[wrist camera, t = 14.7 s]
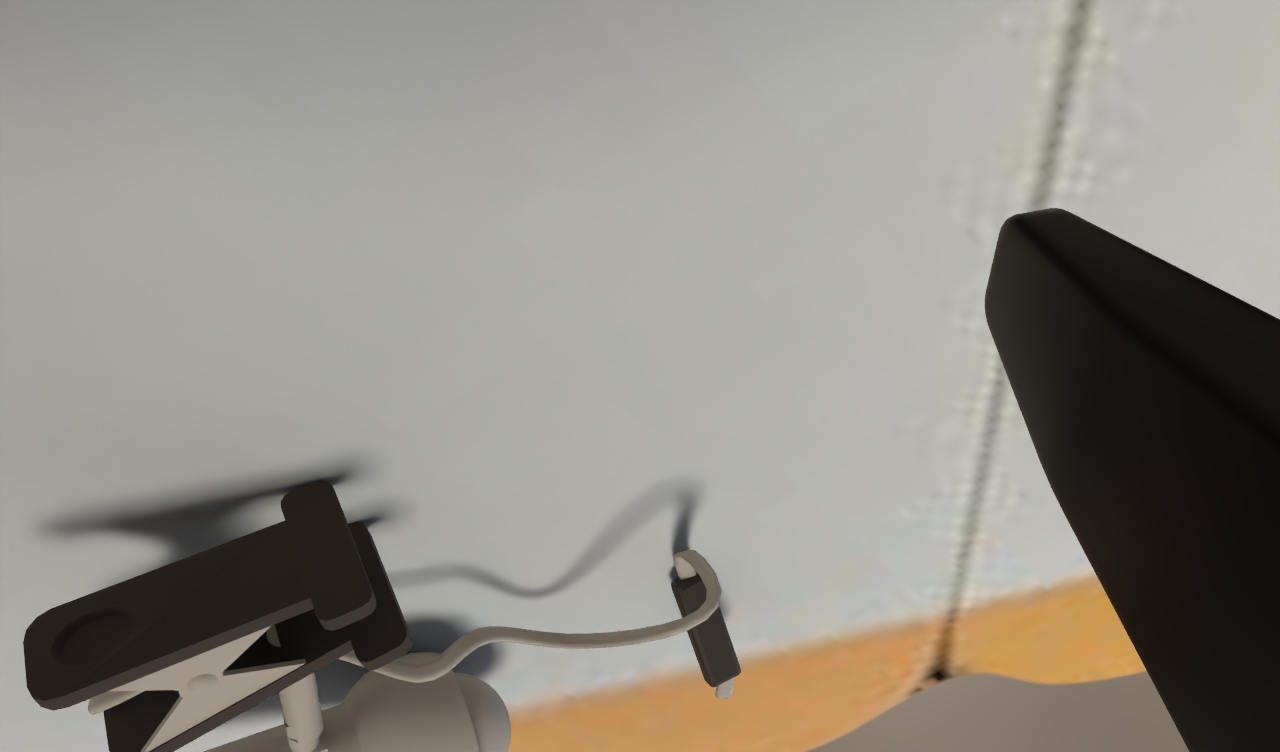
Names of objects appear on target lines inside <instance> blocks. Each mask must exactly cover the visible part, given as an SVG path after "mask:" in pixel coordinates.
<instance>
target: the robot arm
mask: <svg viewBox="0 0 1280 752" xmlns="http://www.w3.org/2000/svg"><path fill="white" fill-rule="evenodd" d="M985 313H986V318H987V323H988V326H989V329H990V331H991V334H992V337H993V339H994V342H995V345H996V347H997V350H998V352H999V355H1000V358H1001V360H1002V363H1003V365H1004V368H1005V371H1006V373H1007V376H1008V378H1009V381H1010V384H1011V386H1012V389H1013V392H1014V394H1015V397H1016V399H1017V402H1018V405H1019V407H1020V410H1021V412H1022V415H1023V418H1024V420H1025V423H1026V425H1027V428H1028V431H1029V433H1030V436H1031V439H1032V441H1033V444H1034V446H1035V449H1036V452H1037V454H1038V457H1039V459H1040V462H1041V464H1042V467H1043V469H1044V471H1045V474H1046V476H1047V479H1048V481H1049V483H1050V486H1051V488H1052V490H1053V492H1054V494H1055V496H1056V498H1057V500H1058V502H1059V504H1060V506H1061V508H1062V510H1063V512H1064V514H1065V516H1066V518H1067V520H1068V522H1069V523H1070V525H1071V527H1072V529H1073V531H1074V533H1075V535H1076V537H1077V539H1078V541H1079V542H1080V544H1081V546H1082V548H1083V550H1084V552H1085V554H1086V556H1087V558H1088V560H1089V561H1090V563H1091V565H1092V567H1093V569H1094V571H1095V573H1096V575H1097V577H1098V579H1099V580H1100V582H1101V584H1102V586H1103V588H1104V590H1105V592H1106V594H1107V596H1108V598H1109V599H1110V601H1111V603H1112V605H1113V607H1114V609H1115V611H1116V613H1117V615H1118V617H1119V618H1120V620H1121V622H1122V624H1123V626H1124V628H1125V630H1126V632H1127V634H1128V636H1129V637H1130V639H1131V641H1132V643H1133V645H1134V647H1135V649H1136V651H1137V653H1138V655H1139V656H1140V658H1141V660H1142V662H1143V664H1144V666H1145V668H1146V670H1147V672H1148V674H1149V675H1150V677H1151V679H1152V681H1153V683H1154V685H1155V687H1156V689H1157V691H1158V692H1159V694H1160V696H1161V698H1162V700H1163V702H1164V704H1165V706H1166V708H1167V710H1168V712H1169V713H1170V715H1171V717H1172V719H1173V721H1174V723H1175V725H1176V727H1177V729H1178V731H1179V732H1180V734H1181V736H1182V738H1183V740H1184V742H1185V744H1186V746H1187V748H1188V750H1189V751H1190V752H1280V319H1278V318H1276V317H1274V316H1272V315H1270V314H1268V313H1266V312H1264V311H1262V310H1260V309H1258V308H1256V307H1254V306H1252V305H1250V304H1248V303H1246V302H1244V301H1242V300H1240V299H1238V298H1237V297H1235V296H1233V295H1231V294H1229V293H1227V292H1225V291H1223V290H1221V289H1219V288H1217V287H1215V286H1213V285H1211V284H1209V283H1207V282H1205V281H1203V280H1201V279H1199V278H1197V277H1195V276H1193V275H1192V274H1190V273H1188V272H1186V271H1184V270H1182V269H1180V268H1178V267H1176V266H1174V265H1172V264H1170V263H1168V262H1166V261H1164V260H1162V259H1160V258H1158V257H1156V256H1154V255H1152V254H1150V253H1148V252H1147V251H1145V250H1143V249H1141V248H1139V247H1137V246H1135V245H1133V244H1131V243H1129V242H1127V241H1125V240H1123V239H1121V238H1119V237H1117V236H1115V235H1113V234H1111V233H1109V232H1107V231H1105V230H1103V229H1102V228H1100V227H1098V226H1096V225H1094V224H1092V223H1090V222H1088V221H1086V220H1084V219H1082V218H1080V217H1078V216H1076V215H1074V214H1072V213H1070V212H1068V211H1065V210H1063V209H1059V208H1050V209H1044V210H1039V211H1033V212H1027V213H1022V214H1016V215H1014V216H1012V217H1010V218H1008V219H1007V220H1006V221H1005V223H1004V224H1003V226H1002V227H1001V230H1000V233H999V237H998V242H997V246H996V250H995V255H994V259H993V263H992V268H991V272H990V276H989V281H988V285H987V289H986V295H985Z"/></svg>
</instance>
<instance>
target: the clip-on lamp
mask: <svg viewBox="0 0 1280 752" xmlns="http://www.w3.org/2000/svg"><path fill="white" fill-rule="evenodd" d="M281 508H282V511H283V514H284V517H285V521H283V522H280V523H278V524H275V525H272V526H270V527H267V528H264V529H262V530H259V531H256V532H254V533H251V534H248V535H246V536H243V537H240V538H238V539H235V540H233V541H230V542H227V543H225V544H222V545H219V546H217V547H214V548H211V549H209V550H206V551H203V552H201V553H198V554H195V555H193V556H190V557H187V558H185V559H182V560H179V561H177V562H174V563H171V564H169V565H166V566H163V567H161V568H158V569H155V570H153V571H150V572H148V573H145V574H142V575H140V576H137V577H134V578H132V579H129V580H126V581H124V582H121V583H118V584H116V585H113V586H110V587H108V588H105V589H102V590H100V591H97V592H94V593H92V594H89V595H86V596H84V597H81V598H78V599H76V600H73V601H70V602H68V603H65V604H62V605H60V606H57V607H55V608H52V609H50V610H48V611H47V612H45V613H43V614H42V615H40V616H38V617H37V618H36V619H35V620H34V621H33V622H32V624H31V625H30V626H29V627H28V629H27V630H26V633H25V638H24V642H23V644H24V656H25V668H26V680H27V688H28V690H29V692H30V694H31V696H32V697H33V698H34V700H35V701H36V702H37V703H38V704H39V705H40V706H41V707H44V708H47V709H50V710H57V709H62V708H66V707H70V706H72V705H75V704H77V703H80V702H82V701H85V700H87V699H90V700H89V706H88V711H89V713H90V714H96V713H99V712H102V711H104V718H105V725H106V732H107V739H108V746H109V751H110V752H173V751H175V750H177V749H179V748H181V747H182V746H184V745H186V744H188V743H189V742H191V741H193V740H195V739H197V738H198V737H200V736H202V735H204V734H205V733H207V732H209V731H211V730H213V729H214V728H216V727H218V726H220V725H221V724H223V723H225V722H227V721H229V720H230V719H232V718H234V717H236V716H237V715H239V714H241V713H243V712H245V711H246V710H248V709H250V708H252V707H253V706H255V705H257V704H259V703H260V702H262V701H264V700H266V699H268V698H269V697H271V696H273V695H275V694H276V693H278V692H279V696H280V700H281V705H282V710H283V714H284V724H283V725H280V726H277V727H274V728H271V729H268V730H265V731H262V732H259V733H256V734H253V735H251V736H248V737H245V738H242V739H239V740H236V741H233V742H230V743H227V744H224V745H221V746H218V747H216V748H213V749H210V750H207V751H204V752H508V749H509V744H510V738H511V724H510V719H509V714H508V711H507V709H506V706H505V704H504V702H503V700H502V699H501V697H500V696H499V695H498V694H497V692H496V691H495V690H494V689H493V688H492V687H491V686H490V685H488V684H487V683H485V682H484V681H482V680H480V679H478V678H476V677H473V676H471V675H467V674H463V673H453V671H452V668H453V667H455V666H456V665H457V664H458V663H459V662H460V661H462V660H463V659H464V658H465V657H466V656H467V655H468V654H469V653H471V652H472V651H474V650H475V649H477V648H478V647H480V646H482V645H485V644H487V643H492V642H513V643H521V644H528V645H535V646H543V647H552V648H571V649H589V648H606V647H617V646H625V645H633V644H640V643H645V642H649V641H654V640H659V639H664V638H667V637H670V636H673V635H676V634H679V633H682V632H684V631H687V632H688V634H689V637H690V640H691V643H692V646H693V648H694V651H695V654H696V657H697V660H698V662H699V665H700V668H701V671H702V674H703V676H704V679H705V681H706V682H707V683H708V684H709V685H710V686H711V687H717V688H716V693H715V695H716V697H718V698H726V699H728V698H731V696H732V691H733V686H734V681H735V676H737V675H739V674H740V673H741V669H740V666H739V663H738V660H737V657H736V654H735V651H734V648H733V645H732V642H731V639H730V636H729V634H728V631H727V628H726V625H725V622H724V619H723V616H722V613H721V610H720V607H719V601H720V596H721V588H720V584H719V581H718V578H717V575H716V573H715V572H714V570H713V569H712V568H711V566H710V565H709V563H708V562H707V561H706V559H705V558H703V557H702V556H701V555H700V554H699V553H697V552H696V551H695V550H686V551H682V552H678V553H676V554H675V555H674V559H675V567H676V570H677V573H678V575H679V578H677V579H675V580H674V581H673V582H672V583H671V586H672V590H673V593H674V595H675V598H676V601H677V604H678V607H679V609H680V612H681V615H682V619H678V620H675V621H672V622H668V623H665V624H662V625H657V626H651V627H646V628H641V629H635V630H627V631H618V632H608V633H592V634H564V633H550V632H541V631H533V630H526V629H519V628H510V627H484V628H478V629H475V630H473V631H470V632H468V633H466V634H465V635H463V636H461V637H460V638H458V639H457V640H456V641H455V642H454V643H453V644H452V645H451V646H450V647H449V648H448V649H447V650H445V651H444V652H443V653H442V654H439V653H432V652H417V653H409V654H406V653H407V652H408V651H409V650H410V648H411V646H412V637H411V635H410V632H409V630H408V627H407V625H406V622H405V619H404V617H403V614H402V612H401V609H400V607H399V604H398V602H397V599H396V597H395V594H394V592H393V589H392V587H391V584H390V582H389V579H388V576H387V574H386V571H385V569H384V566H383V564H382V561H381V559H380V556H379V554H378V551H377V549H376V546H375V544H374V541H373V539H372V536H371V534H370V533H369V531H368V530H367V528H366V527H365V525H364V524H363V523H358V522H357V523H353V524H350V525H348V524H347V521H346V519H345V516H344V513H343V511H342V508H341V505H340V503H339V500H338V497H337V495H336V493H335V490H334V488H333V486H332V484H331V483H330V482H329V481H324V480H322V481H317V482H314V483H312V484H309V485H307V486H305V487H302V488H300V489H297V490H295V491H292V492H290V493H289V494H287V495H285V496H284V498H283V499H282V500H281ZM337 659H339V660H343V661H347V662H350V663H353V664H356V665H359V666H361V667H364V668H365V669H367V670H370V671H369V672H368V673H366V674H365V675H364V676H363V677H362V678H360V679H359V680H358V682H357V683H356V684H355V685H354V686H353V687H352V688H351V689H350V691H349V692H348V694H347V695H346V697H345V698H344V700H343V701H342V703H341V705H338V706H335V707H332V708H329V709H326V710H323V711H321V706H320V701H319V695H318V689H317V684H316V678H315V673H314V672H316V671H317V670H319V669H321V668H323V667H324V666H326V665H328V664H330V663H332V662H333V661H335V660H337Z"/></svg>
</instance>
